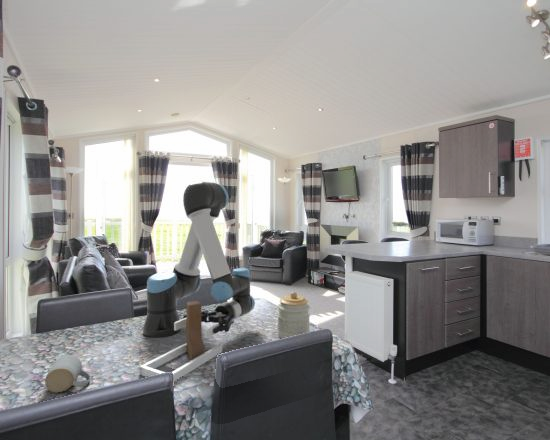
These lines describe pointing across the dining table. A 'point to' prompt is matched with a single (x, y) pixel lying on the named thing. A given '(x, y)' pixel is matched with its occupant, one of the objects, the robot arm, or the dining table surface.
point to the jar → (293, 316)
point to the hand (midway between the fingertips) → (189, 330)
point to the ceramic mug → (65, 374)
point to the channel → (150, 367)
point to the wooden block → (194, 330)
